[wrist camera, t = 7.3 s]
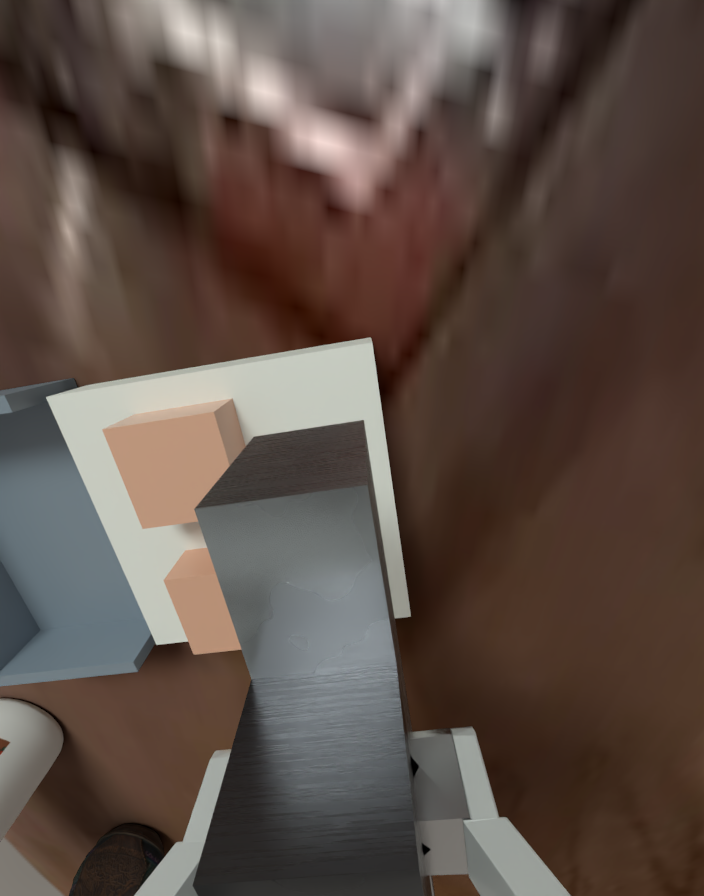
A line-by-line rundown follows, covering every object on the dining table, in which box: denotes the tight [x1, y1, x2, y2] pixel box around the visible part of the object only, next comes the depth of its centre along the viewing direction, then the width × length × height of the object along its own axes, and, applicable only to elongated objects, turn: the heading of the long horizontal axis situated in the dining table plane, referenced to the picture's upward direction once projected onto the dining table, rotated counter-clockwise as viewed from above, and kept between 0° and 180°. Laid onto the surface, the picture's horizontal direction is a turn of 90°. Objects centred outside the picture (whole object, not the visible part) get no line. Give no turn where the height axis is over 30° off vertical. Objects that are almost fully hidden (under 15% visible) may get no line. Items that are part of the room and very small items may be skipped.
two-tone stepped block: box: [192, 420, 435, 896], centre depth 9 cm, size 3×14×7 cm, turn 9°
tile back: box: [164, 548, 241, 655], centre depth 21 cm, size 5×5×2 cm
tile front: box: [102, 398, 246, 529], centre depth 18 cm, size 5×5×2 cm
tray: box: [0, 378, 155, 686], centre depth 22 cm, size 10×17×4 cm, turn 9°
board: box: [46, 337, 411, 645], centre depth 22 cm, size 16×16×3 cm
